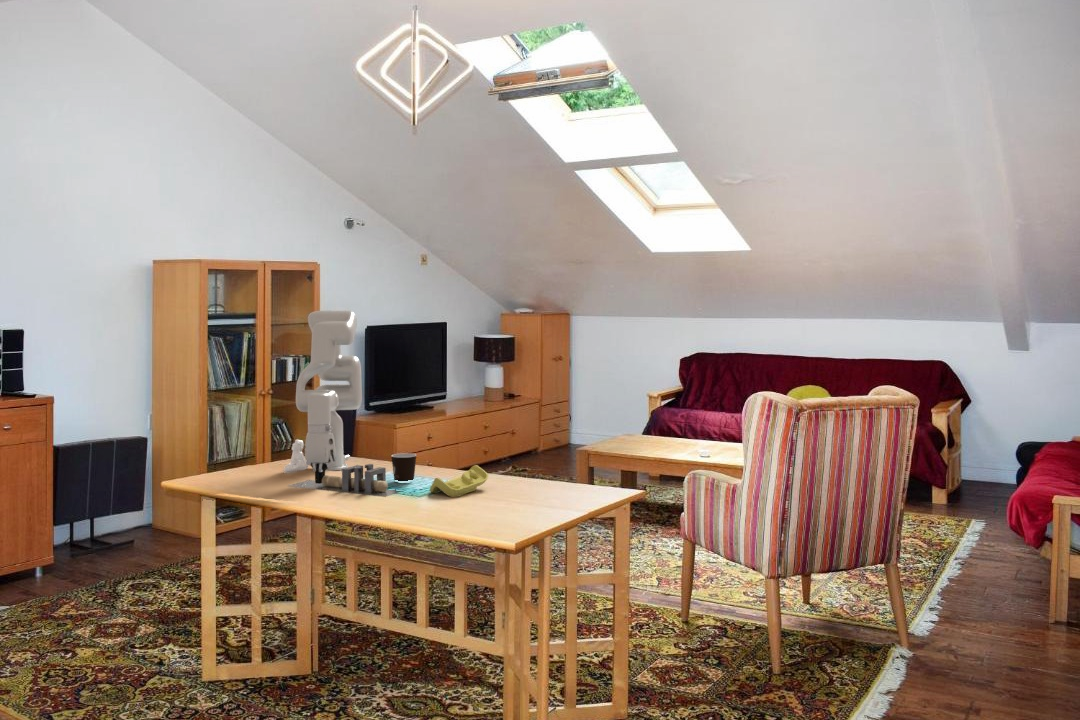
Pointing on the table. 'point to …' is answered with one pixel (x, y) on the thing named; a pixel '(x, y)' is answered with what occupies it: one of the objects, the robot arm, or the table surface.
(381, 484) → the dowel
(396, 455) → the coffee mug
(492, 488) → the table surface
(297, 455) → the white creature statuette
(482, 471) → the plastic component
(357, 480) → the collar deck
